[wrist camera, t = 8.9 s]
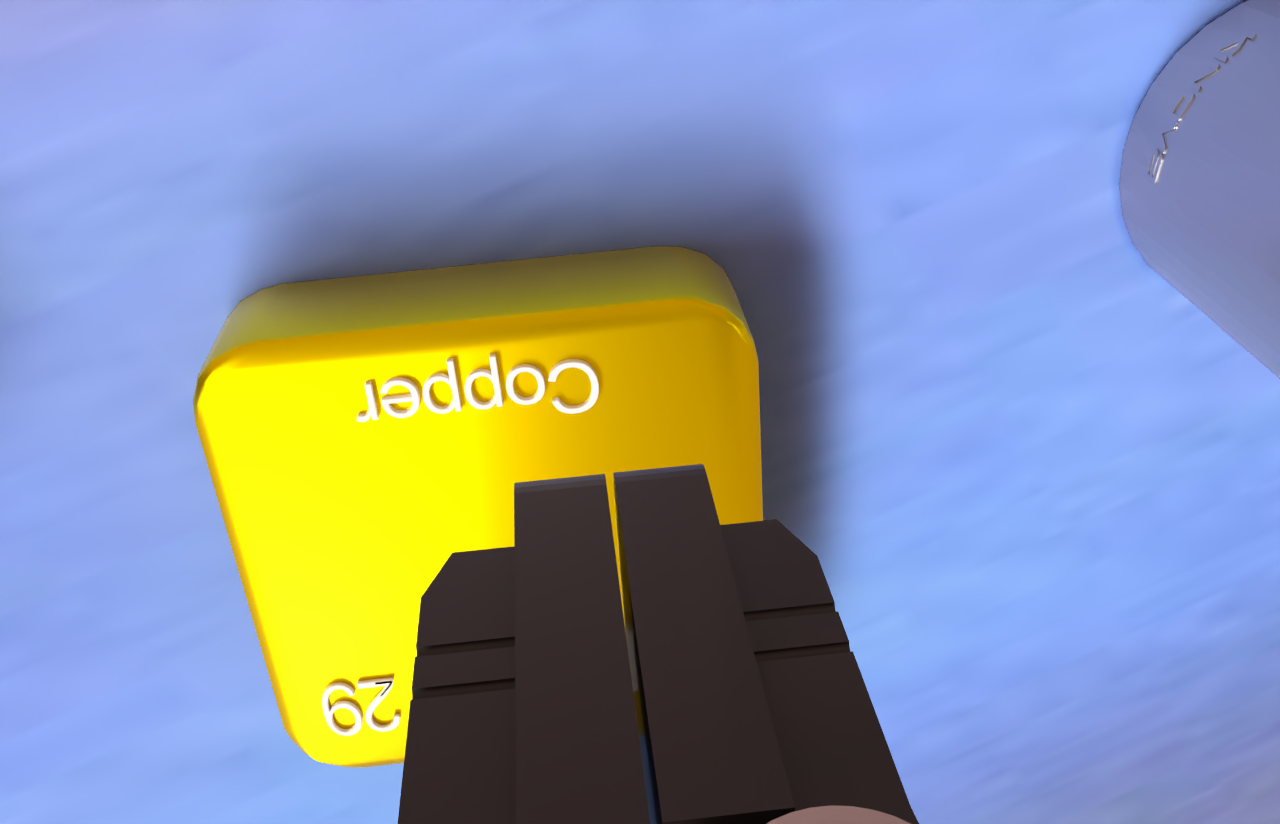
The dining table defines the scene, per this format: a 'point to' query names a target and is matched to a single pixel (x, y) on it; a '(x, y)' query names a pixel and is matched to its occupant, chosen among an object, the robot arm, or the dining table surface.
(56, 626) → the dining table surface
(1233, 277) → the robot arm
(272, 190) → the dining table surface
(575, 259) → the element tile
